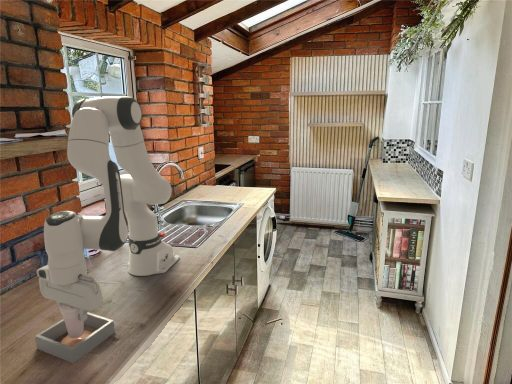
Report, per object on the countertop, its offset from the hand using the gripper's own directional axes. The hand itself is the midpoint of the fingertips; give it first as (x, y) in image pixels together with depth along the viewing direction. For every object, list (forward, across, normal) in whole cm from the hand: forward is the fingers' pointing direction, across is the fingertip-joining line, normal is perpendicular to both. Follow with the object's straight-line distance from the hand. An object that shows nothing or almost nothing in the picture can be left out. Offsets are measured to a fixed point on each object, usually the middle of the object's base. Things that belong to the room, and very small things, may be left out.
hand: (74, 317), depth 97 cm
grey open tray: (+7, 0, 0) cm, 7 cm away
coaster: (+7, 0, 0) cm, 7 cm away
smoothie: (+6, 0, 0) cm, 6 cm away
